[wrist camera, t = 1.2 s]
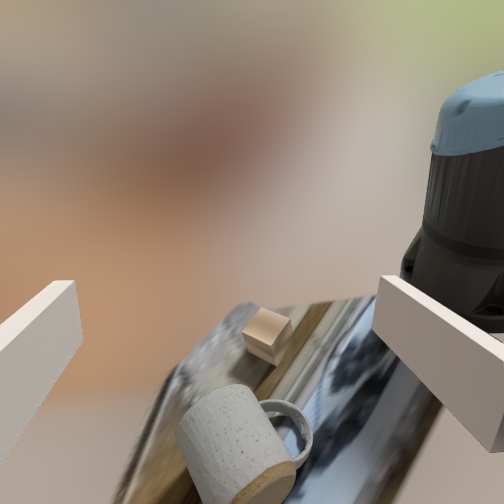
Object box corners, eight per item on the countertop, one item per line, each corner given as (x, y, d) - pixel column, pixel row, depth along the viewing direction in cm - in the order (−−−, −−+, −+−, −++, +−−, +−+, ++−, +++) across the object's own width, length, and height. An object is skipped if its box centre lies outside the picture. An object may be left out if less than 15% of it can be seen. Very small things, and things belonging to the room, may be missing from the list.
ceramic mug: (234, 558, 23) (204, 532, 18) (190, 459, 29) (160, 421, 24) (336, 459, 27) (333, 418, 22) (279, 390, 33) (267, 345, 28)
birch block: (267, 328, 39) (261, 307, 37) (294, 340, 37) (290, 318, 35) (249, 352, 37) (241, 331, 35) (276, 367, 35) (271, 345, 32)
